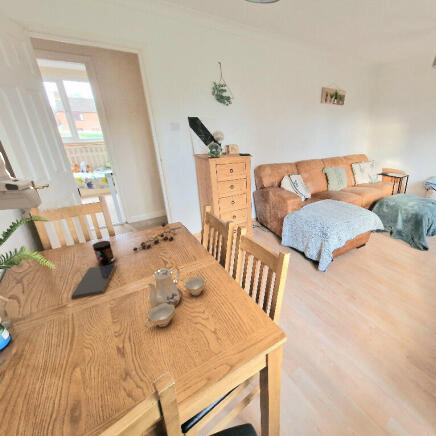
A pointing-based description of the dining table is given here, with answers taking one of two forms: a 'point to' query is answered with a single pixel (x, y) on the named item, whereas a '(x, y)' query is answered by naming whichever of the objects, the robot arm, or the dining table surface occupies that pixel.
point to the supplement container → (103, 253)
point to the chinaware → (169, 295)
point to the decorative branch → (157, 238)
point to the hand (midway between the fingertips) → (10, 220)
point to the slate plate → (94, 281)
